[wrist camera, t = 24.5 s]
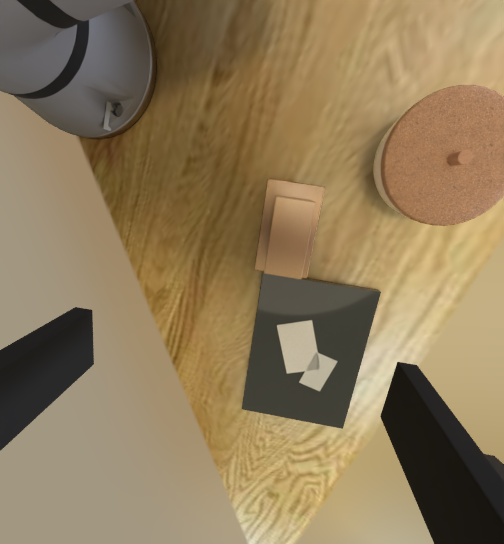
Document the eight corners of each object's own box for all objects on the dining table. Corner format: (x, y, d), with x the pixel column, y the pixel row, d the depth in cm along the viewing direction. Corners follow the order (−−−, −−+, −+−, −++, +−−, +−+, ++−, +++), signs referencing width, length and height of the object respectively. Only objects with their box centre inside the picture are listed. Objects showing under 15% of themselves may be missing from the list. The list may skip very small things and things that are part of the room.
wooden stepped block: (269, 179, 33) (264, 176, 25) (322, 187, 33) (335, 186, 24) (256, 264, 36) (248, 286, 28) (305, 272, 35) (311, 297, 27)
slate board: (263, 271, 36) (262, 272, 35) (378, 289, 35) (381, 292, 34) (242, 405, 42) (241, 409, 41) (341, 424, 41) (342, 429, 40)
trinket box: (468, 207, 32) (542, 214, 23) (365, 226, 33) (396, 239, 24) (466, 98, 29) (549, 57, 20) (355, 124, 31) (384, 97, 22)
